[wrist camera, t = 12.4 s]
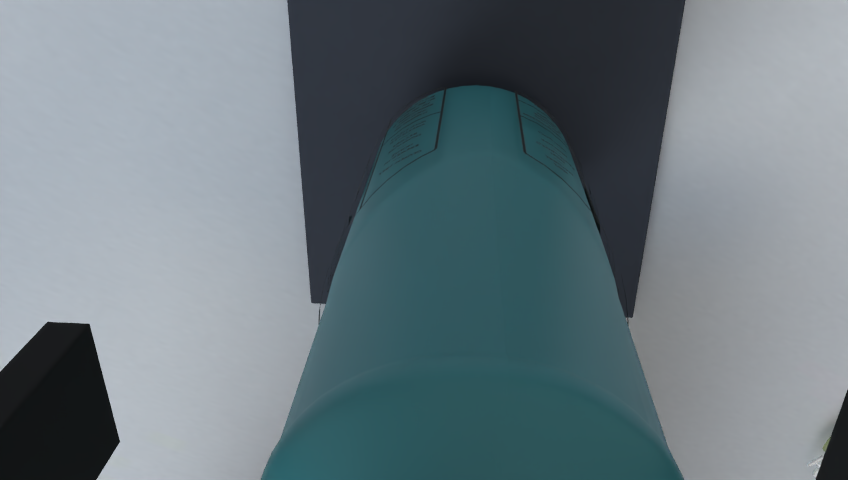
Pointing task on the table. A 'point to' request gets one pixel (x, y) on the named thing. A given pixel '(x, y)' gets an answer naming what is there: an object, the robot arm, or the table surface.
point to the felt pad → (485, 66)
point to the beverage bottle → (473, 316)
